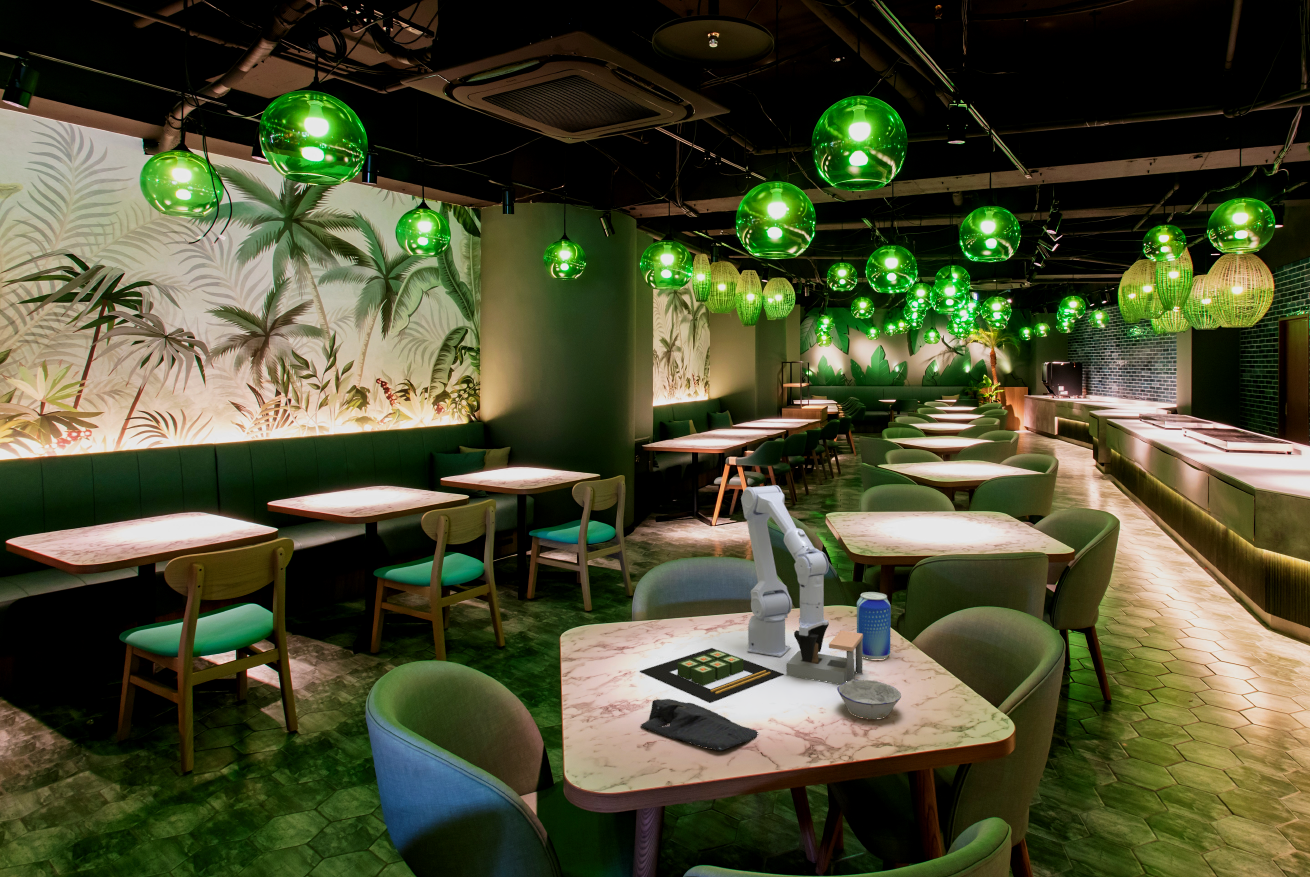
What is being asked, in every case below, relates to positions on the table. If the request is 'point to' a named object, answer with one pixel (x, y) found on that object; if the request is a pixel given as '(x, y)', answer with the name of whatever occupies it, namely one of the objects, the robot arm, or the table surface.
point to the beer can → (874, 624)
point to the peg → (815, 655)
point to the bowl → (868, 698)
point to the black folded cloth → (695, 725)
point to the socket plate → (819, 668)
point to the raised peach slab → (849, 650)
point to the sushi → (710, 674)
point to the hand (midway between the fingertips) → (811, 656)
